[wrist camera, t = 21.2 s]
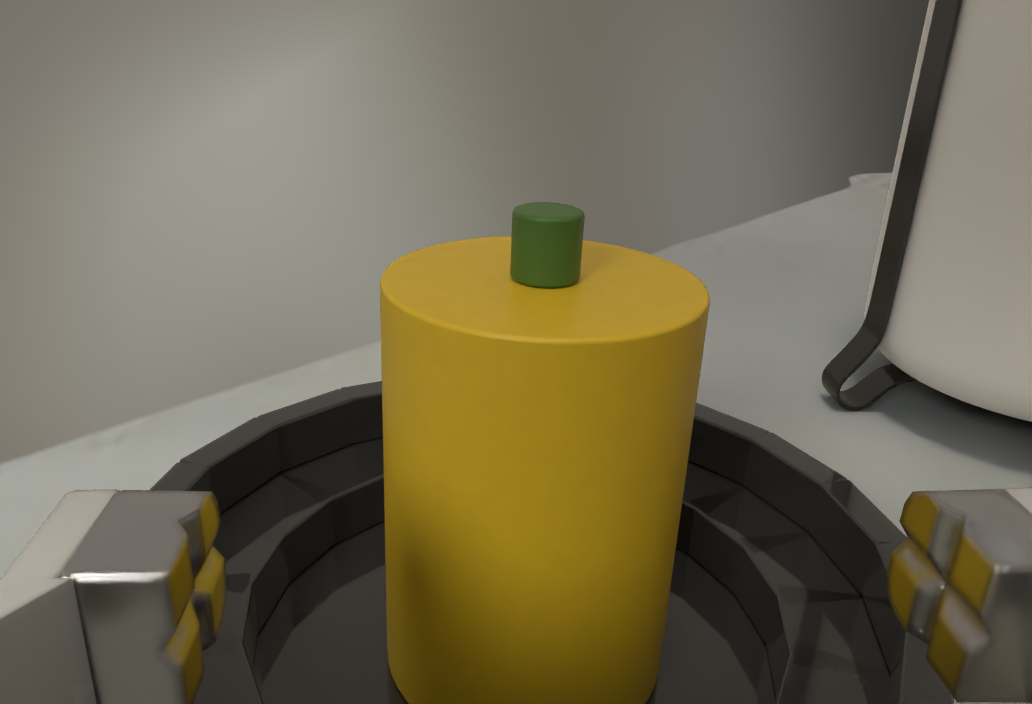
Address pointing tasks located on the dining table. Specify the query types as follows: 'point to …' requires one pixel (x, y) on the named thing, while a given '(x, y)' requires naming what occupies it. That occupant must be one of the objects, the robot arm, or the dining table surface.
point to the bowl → (693, 592)
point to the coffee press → (957, 221)
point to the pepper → (534, 462)
